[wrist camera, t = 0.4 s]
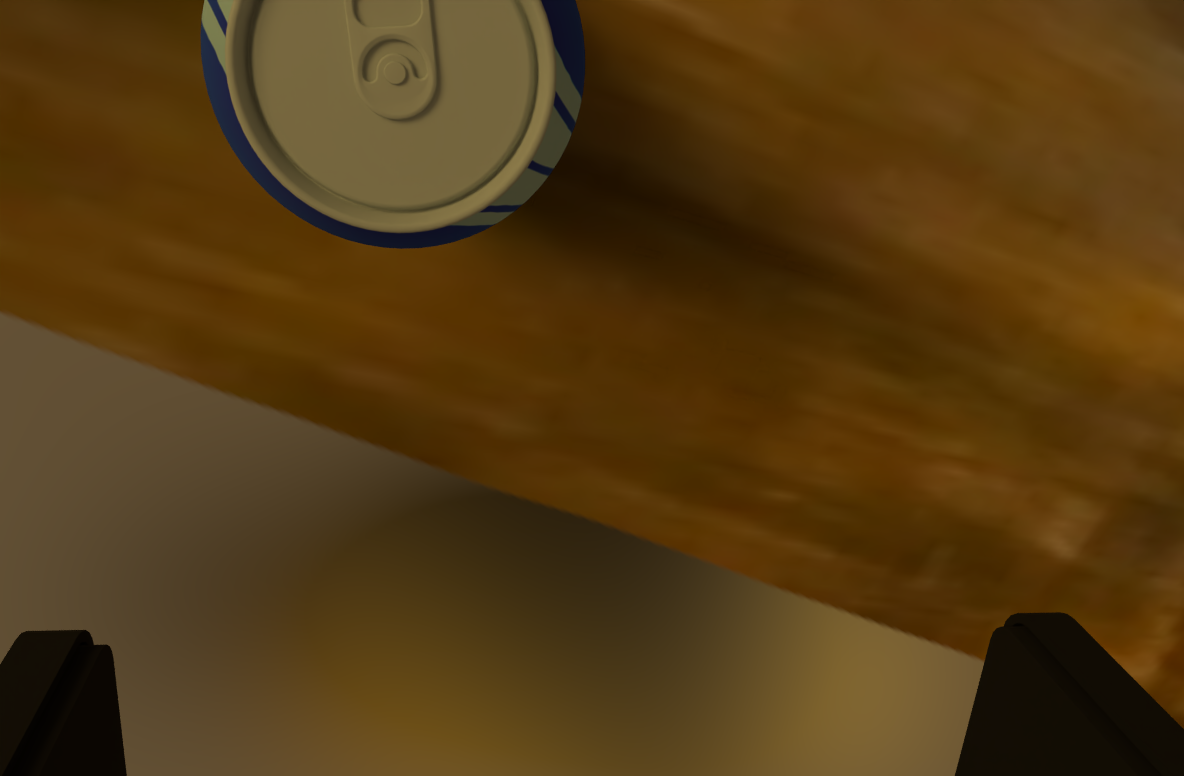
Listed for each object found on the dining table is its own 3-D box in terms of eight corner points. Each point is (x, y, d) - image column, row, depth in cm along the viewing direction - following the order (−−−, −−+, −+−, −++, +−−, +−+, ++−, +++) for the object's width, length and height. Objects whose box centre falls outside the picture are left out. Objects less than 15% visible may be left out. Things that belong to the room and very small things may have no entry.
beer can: (580, 4, 36) (682, 26, 21) (445, 200, 38) (452, 346, 23) (372, -162, 33) (322, -270, 18) (238, 59, 35) (94, 122, 20)
